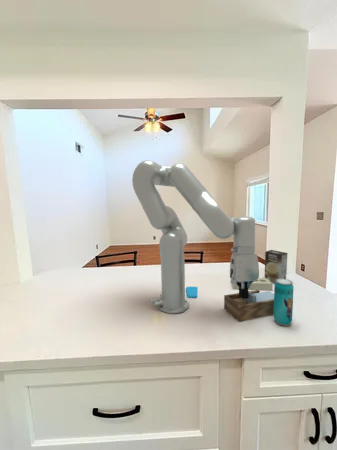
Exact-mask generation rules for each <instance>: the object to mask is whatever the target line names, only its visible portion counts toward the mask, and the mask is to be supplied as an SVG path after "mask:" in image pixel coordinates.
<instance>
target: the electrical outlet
mask: <svg viewBox="0 0 337 450" xmlns="http://www.w3.org/2000/svg"><path fill="white" fill-rule="evenodd" d="M230 284H231V287H232V290H238V291H239V286H238V285H235V284H232V283H231V282H230ZM255 290H259V291H261V292H268V291H269V292H273V283H272V282H270V280H269V279H267V278H264V277H259V278H258V279H257V280H256V281H254V282H252V283H251V285H250V288H248V291H255Z"/></svg>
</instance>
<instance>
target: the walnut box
mask: <svg viewBox="0 0 337 450" xmlns="http://www.w3.org/2000/svg"><path fill="white" fill-rule="evenodd" d="M248 291H249V292H251V293H253V294H254V293H261V292H260V291H261V290H248ZM223 296H224V297H223V299H224V300H223V304H224V305H223V310H225V311H226V312H227V313H229V314H230V315H231V316H232V317H233V318H234V319H235V320H236V321H237V322H238V323H239V322H240V323H241V322H245V321H251V320H255V319H256V320H257V319H260V318H265V317H270V316H274V299H271V300H266V301H260V302H254V303H248V302H246V301H245V300H243V299H242V298H241V297H240V296H239V292H236V293H231V294H224V295H223Z"/></svg>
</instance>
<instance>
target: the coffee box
mask: <svg viewBox="0 0 337 450" xmlns="http://www.w3.org/2000/svg"><path fill="white" fill-rule="evenodd" d="M264 254H265V255H264V277H263V278H267V279H269V280H270V282H271V283H272V284H275V282H276V279H287V274H288V273H287V272H288V252H283V251H278V250H274V249H270V250H266V251H265V253H264Z"/></svg>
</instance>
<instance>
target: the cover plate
mask: <svg viewBox="0 0 337 450" xmlns="http://www.w3.org/2000/svg"><path fill="white" fill-rule="evenodd" d="M249 291H250V290H248V299H243V298H242V299H243V300H245V301H246V302H248V303H254V302H260V301H266V300H271V299H274V292H272V291H261V292H260V293H254V294H253V293H251V292H249Z"/></svg>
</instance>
